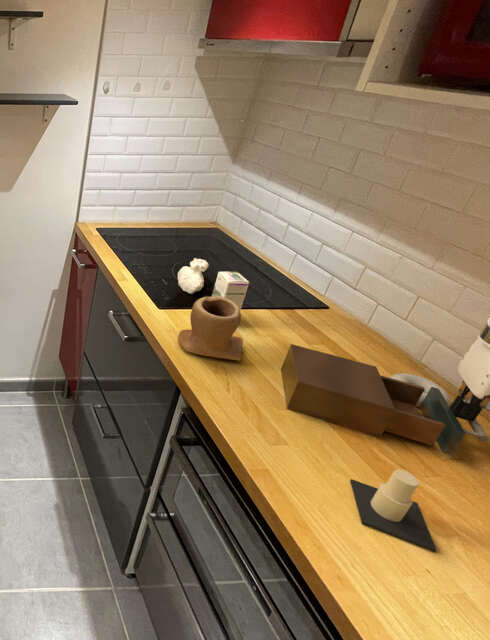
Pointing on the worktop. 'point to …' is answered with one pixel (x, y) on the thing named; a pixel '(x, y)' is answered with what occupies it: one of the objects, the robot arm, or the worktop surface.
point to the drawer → (426, 417)
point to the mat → (406, 529)
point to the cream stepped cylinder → (395, 496)
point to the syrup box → (231, 287)
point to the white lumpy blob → (192, 276)
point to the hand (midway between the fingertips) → (460, 415)
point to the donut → (423, 383)
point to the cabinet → (336, 390)
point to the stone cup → (213, 329)
